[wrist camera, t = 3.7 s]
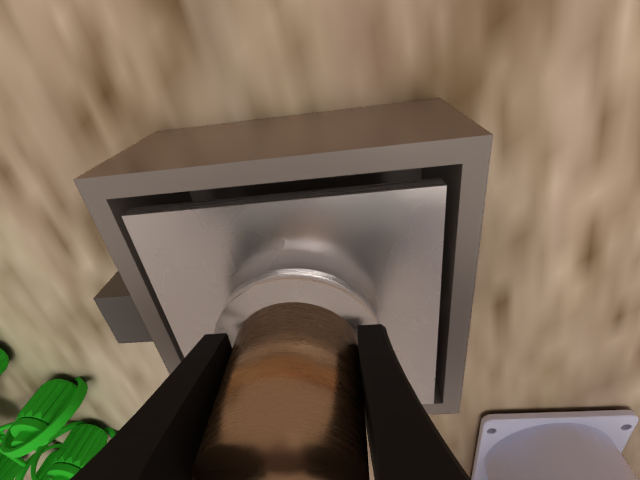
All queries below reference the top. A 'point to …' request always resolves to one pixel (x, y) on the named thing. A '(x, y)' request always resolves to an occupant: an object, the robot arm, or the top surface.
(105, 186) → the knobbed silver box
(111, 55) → the top surface
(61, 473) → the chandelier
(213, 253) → the plunger
